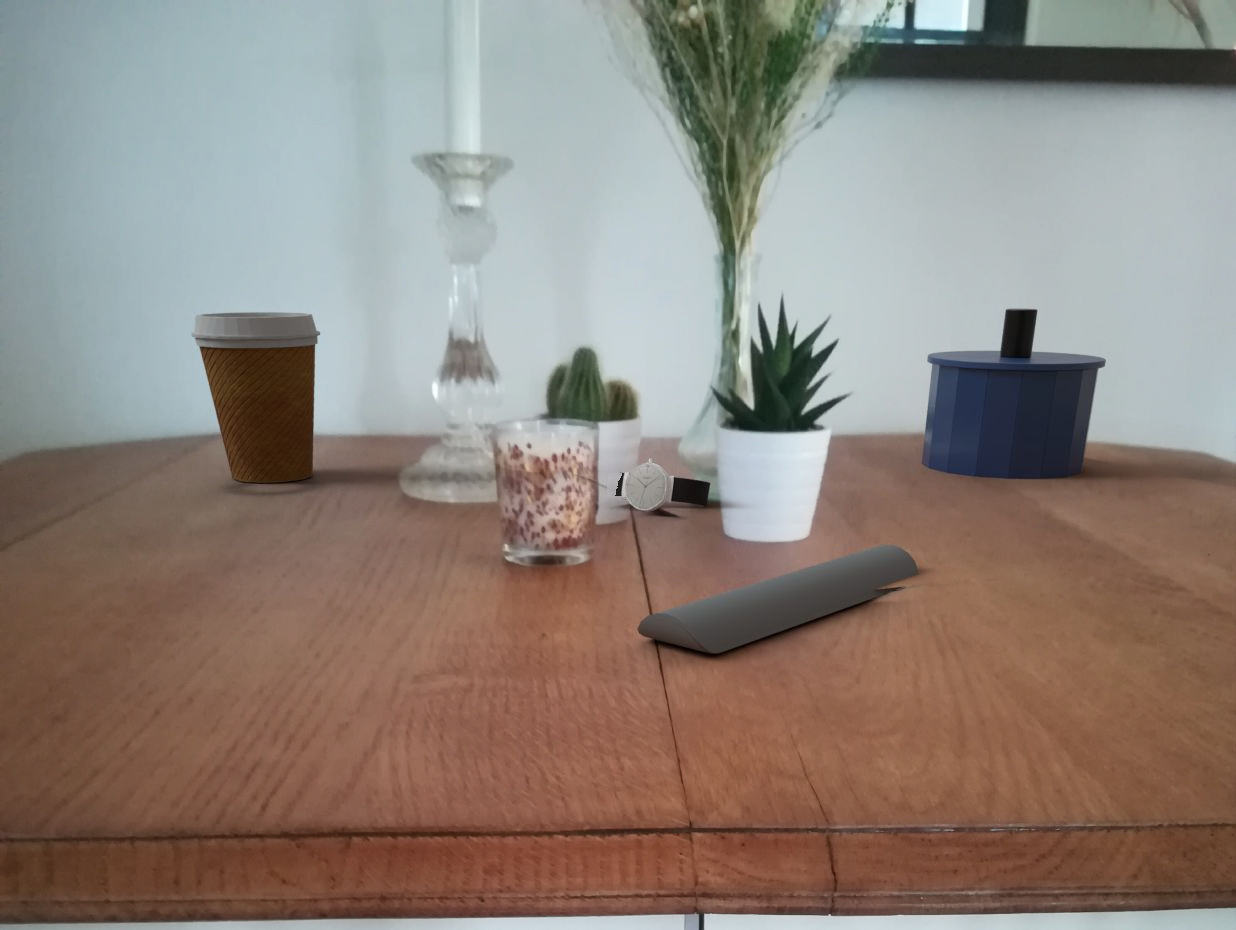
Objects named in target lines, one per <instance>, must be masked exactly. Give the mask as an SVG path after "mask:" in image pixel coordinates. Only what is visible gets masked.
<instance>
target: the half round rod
mask: <svg viewBox="0 0 1236 930" xmlns="http://www.w3.org/2000/svg"><path fill="white" fill-rule="evenodd" d="M918 574H919V569H918V565H917V564H916V561H915V559H914V558H913V556H911V554H910V553H909V552H908V551H906V550H905V549H903V548H902V547H900V546H897V545H894V544H880V545H877V546H873V547H870V548H867V549H864V550H860V551H857V552H853V553H851V554H847V555H844V556H841V557H837V558H834V559H831V560H830V559H829V560H827V561H823V562H820V563H818V564H814V565H810V566H808V567H804V568H800V569H798V570H794V571H791V572H787V573H784V574H781V575H778V576H775V577H770V578H767V579H765V580H761V581H759V582H755V583H751V584H747V585H745V586H741V587H739V588H735V589H732V590H729V591H725V592H722V593H718V594H715V595H712V596H709V597H705V598H701V599H698V600H696V601H692V602H689V603H686V604H682V605H679V606H675V607H673V608H669V609H666V610H663V611H659V612H655V613H652V614H649V615H647V616H646V617H644V618H642V620H641V621H640V622H639V624H638V626H637V631H638V634H639V635H641V636H642V637H644V638H648V639H652V640H656V641H660V642H664V643H667V644H672V645H676V646H679V647H684V648H688V649H691V650H694V651H699V652H703V653H707V654H720V653H724V652H726V651H729V650H732V649H734V648H737V647H740V646H743V645H746V644H748V643H751V642H754V641H757V640H760V639H762V638H765V637H769V636H771V635H774V634H776V633H777V634H778V633H780V632H782V631H785V630H788V629H791V628H793V627H796V626H800V625H802V624H805V623H807V622H810V621H813V620H815V619H819V618H821V617H824V616H827V615H830V614H833V613H835V612H838V611H842V610H843V609H847V608H849V607H852V606H856V605H858V604H861V603H863V602H866V601H869V600H872V599H875V598H877V597H880V596H883V595H887V594H889V593H892V592H895V591H897V590H900V589H902V588H905V587H906V586H907V585H906V586H896V587H886V588H883V587H885V586H888V585H891V584H893V583H896V582H900V581H902V580H904V579H908V578H911V577H914V576H916V575H918Z"/></svg>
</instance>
